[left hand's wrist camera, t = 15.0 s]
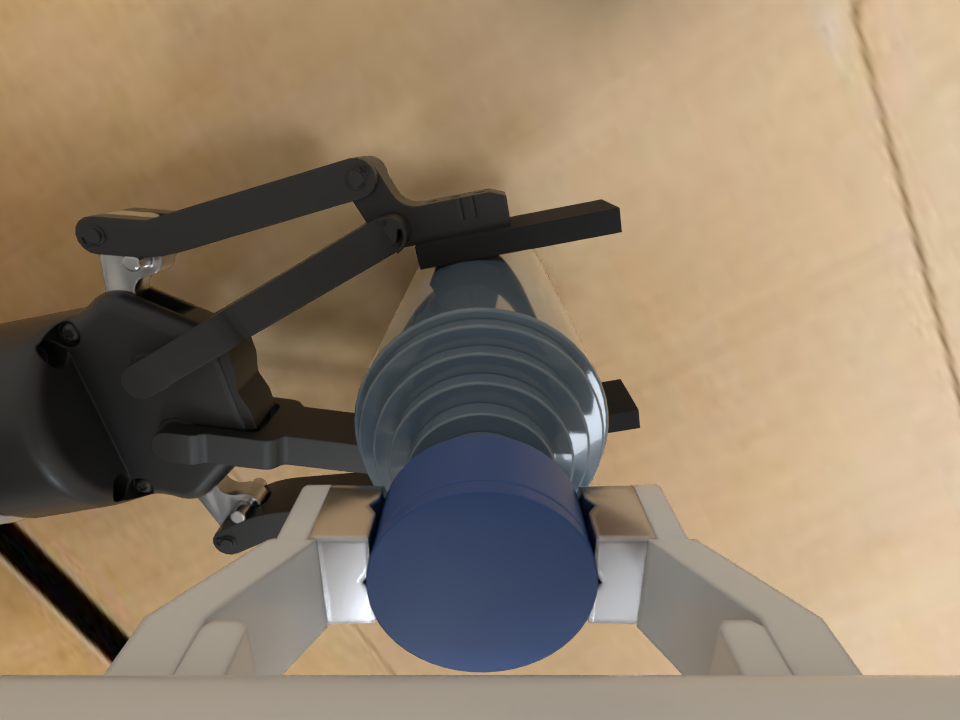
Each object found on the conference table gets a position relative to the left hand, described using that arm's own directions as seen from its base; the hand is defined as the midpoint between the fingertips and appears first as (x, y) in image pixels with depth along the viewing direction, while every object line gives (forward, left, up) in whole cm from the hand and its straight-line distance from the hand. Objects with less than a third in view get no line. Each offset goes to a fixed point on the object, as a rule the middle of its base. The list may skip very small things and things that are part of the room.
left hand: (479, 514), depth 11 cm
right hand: (+4, -4, -10) cm, 11 cm away
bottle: (0, 0, -17) cm, 17 cm away
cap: (0, 0, +2) cm, 2 cm away
